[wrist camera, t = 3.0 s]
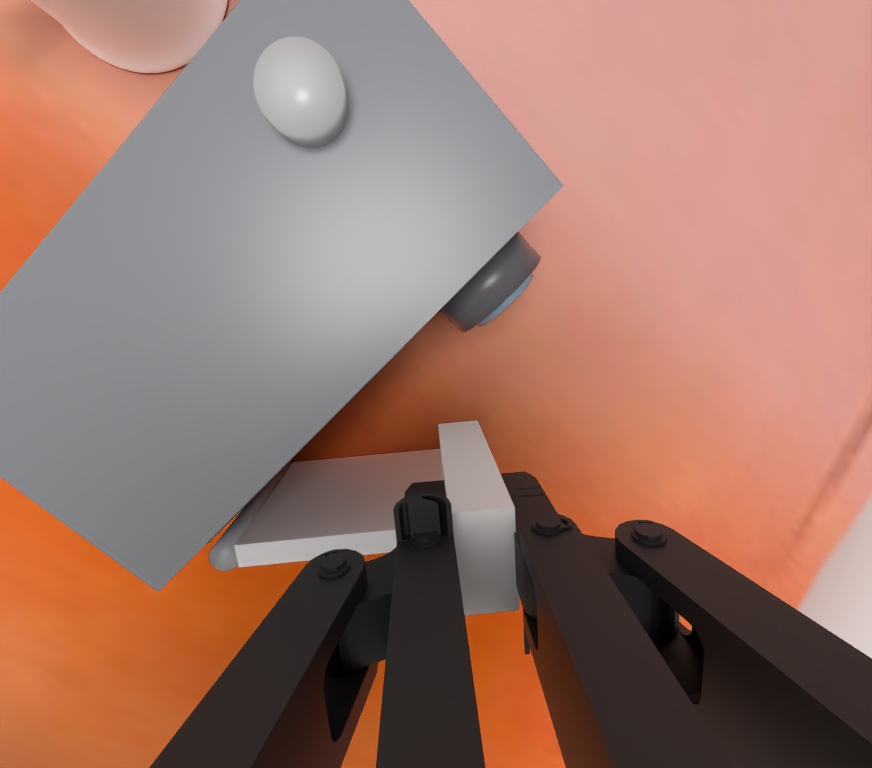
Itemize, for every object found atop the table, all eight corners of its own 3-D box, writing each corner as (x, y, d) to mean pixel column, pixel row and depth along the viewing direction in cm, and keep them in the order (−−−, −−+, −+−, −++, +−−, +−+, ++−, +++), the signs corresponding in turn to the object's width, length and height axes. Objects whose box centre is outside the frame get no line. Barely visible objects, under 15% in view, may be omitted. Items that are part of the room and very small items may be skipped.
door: (280, 494, 26) (215, 591, 18) (274, 462, 25) (205, 545, 17) (479, 475, 26) (508, 562, 18) (477, 443, 26) (506, 516, 17)
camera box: (281, 497, 26) (186, 644, 15) (115, 359, 24) (-133, 416, 13) (525, 256, 24) (617, 228, 13) (366, 78, 21) (315, -138, 11)
